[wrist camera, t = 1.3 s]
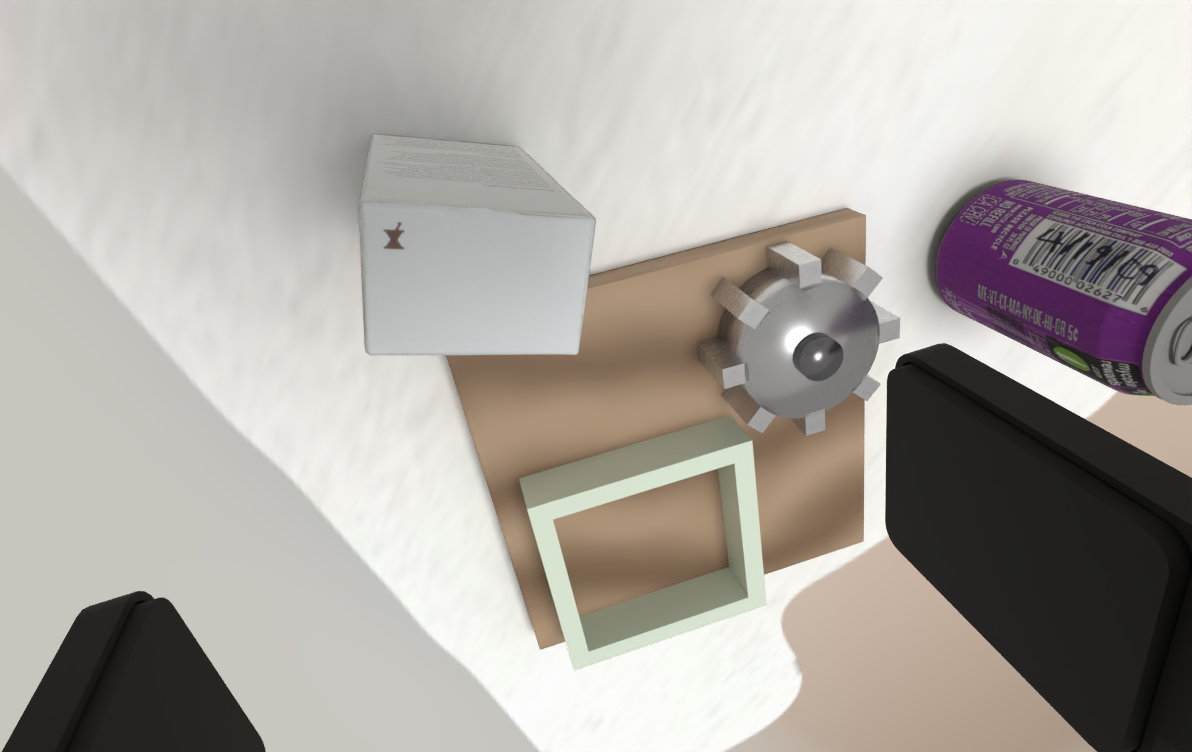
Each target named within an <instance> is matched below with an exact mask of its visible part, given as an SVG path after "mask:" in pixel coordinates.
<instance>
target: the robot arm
mask: <svg viewBox="0 0 1192 752" xmlns="http://www.w3.org/2000/svg"><path fill="white" fill-rule="evenodd" d="M885 523H886V529H887V532H888V535H889V537H890V539H891V541H892V543H893V544H894V546H895V547H896V548H897V549H898V550H899V551H900V552H901V554H902V555H903V556H904V557H906V559H907V560H908V561H909V562H910V563H911V564H912V565H913V566H914V567H915V568H916V569H917V570H918V571H919V572H920V573H921V574H922V575H923V576H924V577H925V578H926V579H927V580H928V581H929V582H930V583H931V584H932V585H933V586H934V587H935V588H936V589H937V590H938V591H939V592H940V593H941V594H942V595H943V596H944V597H945V598H946V599H947V600H948V601H949V602H950V603H951V604H952V605H953V606H954V607H955V608H956V609H957V610H958V611H959V612H960V614H962V615H963V617H964V618H965V619H966V620H967V621H968V622H969V623H970V624H971V625H972V626H973V627H974V628H975V629H976V630H977V631H978V632H979V633H980V634H981V635H982V636H983V637H984V638H985V639H986V640H987V641H988V642H989V643H990V644H991V645H992V646H993V647H994V648H995V649H996V650H997V651H998V652H999V653H1000V654H1001V655H1002V656H1003V657H1004V658H1005V659H1006V660H1007V661H1008V662H1009V663H1010V664H1011V665H1012V666H1013V667H1014V668H1015V669H1016V670H1017V671H1018V672H1019V673H1020V675H1022V677H1023V678H1025V679H1026V681H1027V682H1028V683H1029V684H1030V685H1031V686H1032V687H1033V688H1034V689H1035V690H1036V691H1038V693H1039V694H1040V695H1041V696H1042V697H1043V698H1044V699H1045V700H1046V701H1047V702H1048V703H1049V704H1050V705H1051V706H1052V707H1053V708H1054V709H1055V710H1056V711H1057V712H1058V713H1059V714H1060V715H1061V716H1062V717H1063V718H1064V719H1065V720H1066V721H1067V722H1068V723H1069V724H1070V725H1071V726H1072V727H1073V728H1074V729H1075V730H1076V731H1077V732H1078V733H1079V734H1080V735H1081V737H1083V739H1084V740H1085V741H1086V742H1087V743H1088V744H1089V745H1091V746H1092V747H1093V748H1094V749H1095V750H1096V751H1097V752H1192V478H1191V477H1189V476H1187V475H1186V474H1184V473H1182V472H1180V471H1178V470H1176V469H1175V468H1173V467H1171V466H1169V465H1167V464H1165V463H1164V462H1162V461H1160V460H1158V459H1156V458H1154V457H1153V456H1151V455H1149V454H1147V453H1145V452H1144V451H1142V450H1140V449H1138V448H1136V447H1135V446H1133V445H1131V444H1129V443H1127V442H1125V441H1124V440H1122V439H1120V438H1118V437H1116V436H1115V435H1113V434H1111V433H1109V432H1107V431H1106V430H1104V429H1102V428H1100V427H1098V426H1096V425H1095V424H1093V423H1091V422H1089V421H1087V420H1086V419H1084V418H1082V417H1080V416H1078V415H1076V414H1075V413H1073V412H1071V411H1069V410H1067V409H1066V408H1064V407H1062V406H1060V405H1058V404H1056V403H1055V402H1053V401H1051V400H1049V399H1047V398H1046V397H1044V396H1042V395H1040V394H1038V393H1036V392H1035V391H1033V390H1031V389H1029V388H1027V387H1026V386H1024V385H1022V384H1020V383H1018V382H1017V381H1015V380H1013V379H1011V378H1009V377H1007V376H1006V375H1004V374H1002V373H1000V372H998V371H997V370H995V369H993V368H991V367H989V366H987V365H986V364H984V363H982V362H980V361H978V360H977V359H975V358H973V357H971V356H969V355H967V354H966V353H964V352H962V351H960V350H958V349H957V348H955V347H953V346H951V345H948V344H945V343H943V344H937V345H933V346H930V347H927V348H924V349H921V350H917V351H914V352H911V353H908V354H904V355H902V356H901V357H900V358H899V359H898V361H897V363H896V367H895V369H893V370H891V371H890V373H889V375H888V378H887V429H886V511H885ZM2 752H265V747H264V744H263V741H262V740H261V737H260V736H259V734H258V732H257V731H256V730H255V728H254V726H253V725H252V723H251V722H250V720H249V719H248V717H247V716H246V714H245V713H244V712H243V710H242V708H241V707H240V705H239V704H238V702H237V701H236V699H235V698H234V696H233V695H232V694H231V692H230V690H229V689H228V687H227V686H226V684H225V683H224V681H223V680H222V678H221V677H220V675H219V674H218V672H217V671H216V669H215V668H214V666H213V665H212V663H211V662H210V660H209V659H208V657H207V656H206V654H205V653H204V651H203V650H202V648H201V647H200V645H199V644H198V642H197V641H196V639H195V638H194V636H193V635H192V633H191V631H190V630H189V628H188V627H187V626H186V624H185V623H184V621H183V619H182V618H181V616H180V615H179V613H178V612H177V610H176V609H175V608H174V606H173V605H172V603H171V602H170V601H169V600H167V599H165V598H157V599H154V598H153V597H152V596H151V595H150V594H148V593H146V592H144V591H137V592H134V593H130V594H127V595H124V596H121V597H118V598H114V599H112V600H108V601H105V602H101V603H98V604H95V605H92V606H89V607H87V608H85V609H83V610H82V611H81V613H79V615H78V616H77V617H76V619H75V621H74V623H73V625H72V626H71V628H70V630H69V632H68V634H67V635H66V637H65V639H64V641H63V643H62V644H61V646H60V648H59V650H58V652H57V653H56V655H55V657H54V659H53V661H52V662H51V664H50V666H49V668H48V670H47V671H46V673H45V675H44V677H43V679H42V681H41V682H40V684H39V686H38V688H37V689H36V691H35V693H34V695H33V697H32V698H31V700H30V702H29V704H28V706H27V707H26V709H25V711H24V713H23V715H22V716H21V718H20V720H19V722H18V724H17V726H16V727H15V729H14V731H13V733H12V735H11V736H10V738H9V740H8V742H7V743H6V745H5V747H4V749H3V751H2Z"/></svg>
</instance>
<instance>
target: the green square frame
mask: <svg viewBox="0 0 1192 752" xmlns="http://www.w3.org/2000/svg"><path fill="white" fill-rule="evenodd" d="M715 469H718V476H719V485H720V493H721V502H722V510H723V519H724V527H725V536H726V544H727V553H728V561H729V567H727V568H724V569H721V570H718V571H715V572H712V573H709V574H706V575H703V576H700V577H697V578H694V579H691V580H688V581H685V582H681V583H678V584H675V585H672V586H669V587H666V588H663V589H660V590H657V591H654V592H651V593H648V594H645V595H642V596H639V597H636V598H633V599H630V600H627V601H624V602H621V603H618V604H615V605H612V606H609V607H606V608H603V609H600V610H597V611H594V612H591V613H588V614H585V615H582V616H579V614H578V611H577V607H576V603H575V599H574V596H573V592H572V588H571V585H570V581H569V577H568V573H567V570H566V566H565V562H564V559H563V555H562V551H561V547H560V544H559V540H558V536H557V533H556V529H555V525H554V521H553V519H557V518H560V517H563V516H566V515H570V514H573V513H576V512H579V511H582V510H586V509H589V508H592V507H595V506H599V505H602V504H605V503H608V502H611V501H615V500H618V499H621V498H624V497H628V496H631V495H634V494H637V493H641V492H644V491H647V490H650V489H653V488H657V487H660V486H663V485H666V484H670V483H673V482H676V481H679V480H682V479H686V478H689V477H692V476H695V475H699V474H702V473H705V472H708V471H711V470H715ZM519 481H520V485H521V488H522V492H523V496H524V500H525V503H526V507H527V511H528V514H529V518H530V521H531V524H532V528H533V531H534V535H535V538H536V542H537V545H538V549H539V552H540V556H541V559H542V562H543V566H544V569H545V573H546V576H547V580H548V583H549V587H550V590H551V593H552V597H553V600H554V604H555V607H556V611H557V614H558V618H559V621H560V625H561V628H562V631H563V635H564V638H565V642H566V645H567V649H568V652H569V656H570V659H571V662H572V666H573V669H574V671H575V670H578V669H581V668H584V667H586V666H589V665H592V664H595V663H598V662H601V661H604V660H607V659H610V658H613V657H616V656H619V655H622V654H624V653H627V652H630V651H633V650H636V649H639V648H642V647H645V646H648V645H651V644H654V643H657V642H660V641H662V640H665V639H668V638H671V637H674V636H677V635H680V634H683V633H686V632H689V631H692V630H695V629H698V628H700V627H703V626H706V625H709V624H712V623H715V622H718V621H721V620H724V619H727V618H730V617H733V616H736V615H738V614H741V613H744V612H747V611H750V610H753V609H756V608H759V607H762V606H765V605H766V594H765V582H764V571H763V559H762V547H761V536H760V524H759V512H758V501H757V489H756V478H755V466H754V454H753V443H752V439H751V438H750V437H749V436H748V435H747V434H746V432H745V431H744V430H743V429H742V428H741V427H740V426H739V424H738V423H737V422H736V421H735V420H734V419H733V417H732V416H731V415H729V416H726V417H722V418H719V419H716V420H712V421H709V422H706V423H702V424H699V425H696V426H692V427H689V428H686V429H682V430H679V431H676V432H672V433H669V434H666V435H662V436H659V437H655V438H652V439H649V440H645V441H642V442H639V443H635V444H632V445H629V446H625V447H622V448H619V449H615V450H612V451H609V452H605V453H602V454H599V455H595V456H592V457H589V458H585V459H582V460H579V461H575V462H572V463H569V464H565V465H562V466H559V467H555V468H552V469H549V470H545V471H542V472H539V473H535V474H532V475H529V476H525V477H522V478H519Z"/></svg>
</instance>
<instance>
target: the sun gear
mask: <svg viewBox="0 0 1192 752" xmlns="http://www.w3.org/2000/svg"><path fill="white" fill-rule="evenodd" d="M766 253H767V268H766V269H764V270H762V271H760V272H758V273H757V274H755V275H753V276H752V277H751V278H749V279H748V280H747V281H746V282H745V283H744V284H743V285H742V286H741V287H740V288H739V287H737V286H736V285H734V284H733V283H731V282H730V281H728V280H727V279H725V278H724V277H722V279H721V280H720V282H719V283H718V285H717V286H716V287H715V289H714V290H713V292H712V293H711V294H710V296H712V297H713V298H714V299H715V300H716V301H717V302H719V303H720V304H721V305H722V306H723V307H725V309H724V311H723V314H722V317H721V319H720V323H719V327H718V334H717V337H715V338H712V339H708V340H705V341H701V342H697V350H698V358H699V362H700V363H701V364H702V365H703V366H704V367H705V369H706V370H707V371H708V372H709V373H710V374H711V375H712V376H713V377H714V378H715V379H716V381H717V382H718V383H719V384H720V385H721V386H722V387H723V388H724V389H725V390H724V391H723V393H722V394H721V396H722V397H723V398H724V399H725V400H726V401H727V403H728V404H729V405H730V406H731V407H732V408H733V409H734V411H735V412H736V413H737V414H738V415H739V416H740V417H741V418H742V420H743V421H744V422H745V423H746V424H747V425H749V426H750V427H752V428H754V429H756V430H758V431H759V432H761V433H763V432H764V430H765V429H766V428H767V427H768V425H769V424H770V423H771V421H772V420H773V419H774V418H775V416H780V417H784V418H789V419H790V420H791V421H792V422H793V423H794V424H795V425H796V426H797V427H798V428H799V429H800V430H801V431H802V432H803V433H804V434H805V435H806V436H808V435H811V434H814V433H817V432H821V431H824V430H825V411H827V410H829V409H831V408H833V407H835V406H836V405H838V404H839V403H841V402H842V401H843V400H845V399H846V398H847V397H848V396H849V395H850V394H852V393H855V394H857V395H858V396H860V397H861V398H863V399H864V400H866V401H868V399H869V398H870V397H871V396H872V394H873V393H874V392H875V391H876V390H877V388H878V387H879V386H880V385H881V384H880V383H878V382H877V381H875V380H874V379H873V378H871V377H870V376H869V375H867V374H868V372H869V370H870V368H871V366H872V364H873V362H874V360H875V357H876V354H877V350H878V346H879V344H880V343H884V342H887V341H890V340H894V339H897V338H899V333H900V318H899V317H897V316H895V315H894V314H892V313H890V312H888V311H887V310H885V309H883V308H881V307H880V306H878V305H876V304H874V303H873V302H871V301H869V299H868V296H869V295H870V294H871V293H872V291H873V290H874V289H875V287H876V286H877V285H878V284H879V282H880V281H881V280H882V277H881V276H880V275H878V274H877V273H876V272H874V271H873V270H872V269H871V268H869V267H868V266H866V265H864V264H862V263H860V262H858V261H856V260H854V259H852V258H850V257H848V256H846V255H844V254H842V253H840V252H838V251H836V250H834V249H832V248H830V249H829V250H828V252H827V253H826V254H825V256H824V257H823V258H822V260H821V259H820V258H818V257H816V256H814V255H812V254H810V253H808V252H806V251H805V250H803V249H801V248H799V247H797V246H795V245H793V244H792V243H790V242H788V241H783V242H780V243H776V244H772V245H768V246H766Z"/></svg>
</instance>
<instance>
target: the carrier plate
mask: <svg viewBox="0 0 1192 752" xmlns="http://www.w3.org/2000/svg"><path fill="white" fill-rule="evenodd" d="M783 241H788V242H790V243H792V244H793V245H795V246H797V247H799V248H801V249H803V250H805V251H806V252H808V253H810V254H812V255H814V256H816V257H818V258H820V259H821V260H822V258H823V257H824V256H825V254H826V253H827V252H828V250H829V249H830V248H832V249H834V250H836V251H838V252H840V253H842V254H844V255H846V256H848V257H850V258H852V259H854V260H856V261H858V262H860V263H862V264H864V265H865V254H866V215H864V214H861V213H858V212H856V211H853V210H851V209H848V208H847V209H843V210H839V211H835V212H831V213H828V214H824V215H820V216H816V217H812V218H809V219H805V220H801V221H797V222H793V223H789V224H786V225H782V226H778V227H774V228H770V229H767V230H763V231H759V232H755V233H751V234H748V235H744V236H740V237H736V238H732V239H729V240H725V241H721V242H717V243H713V244H709V245H706V246H702V247H698V248H694V249H690V250H687V251H683V252H679V253H675V254H671V255H668V256H664V257H660V258H656V259H652V260H649V261H645V262H641V263H637V264H633V265H629V266H626V267H622V268H618V269H614V270H610V271H607V272H603V273H599V274H595V275H591V276H589V278H588V285H587V293H586V301H585V308H584V316H583V323H582V330H581V337H580V345H579V352H578V353H577V355H566V354H537V355H532V354H520V355H447V358H448V362H449V365H450V368H451V371H452V374H453V377H454V380H455V384H456V387H457V390H458V393H459V396H460V399H461V403H462V406H463V409H464V412H465V415H466V418H467V421H468V425H469V428H470V431H471V434H472V437H473V440H474V443H475V447H476V450H477V453H478V456H479V459H480V462H481V465H482V469H483V472H484V475H485V478H486V481H487V484H488V487H489V491H490V494H491V497H492V500H493V503H494V506H495V509H496V513H497V516H498V519H499V522H500V525H501V528H502V532H503V535H504V538H505V541H506V544H507V547H508V550H509V554H510V557H511V560H512V563H513V566H514V569H515V572H516V576H517V579H518V582H519V585H520V588H521V591H522V594H523V598H524V601H525V604H526V607H527V610H528V613H529V616H530V620H531V623H532V626H533V629H534V632H535V635H536V638H537V642H538V645H539V648H540V650H541V649H544V648H547V647H550V646H553V645H556V644H559V643H562V642H565V638H564V635H563V631H562V628H561V625H560V621H559V618H558V614H557V611H556V607H555V604H554V600H553V597H552V593H551V590H550V587H549V583H548V580H547V576H546V573H545V569H544V566H543V562H542V559H541V556H540V552H539V549H538V545H537V542H536V538H535V535H534V531H533V528H532V524H531V521H530V518H529V514H528V511H527V507H526V503H525V500H524V496H523V492H522V488H521V485H520V481H519V478H522V477H525V476H529V475H532V474H535V473H539V472H542V471H545V470H549V469H552V468H555V467H559V466H562V465H565V464H569V463H572V462H575V461H579V460H582V459H585V458H589V457H592V456H595V455H599V454H602V453H605V452H609V451H612V450H615V449H619V448H622V447H625V446H629V445H632V444H635V443H639V442H642V441H645V440H649V439H652V438H655V437H659V436H662V435H666V434H669V433H672V432H676V431H679V430H682V429H686V428H689V427H692V426H696V425H699V424H702V423H706V422H709V421H712V420H716V419H719V418H722V417H726V416H729V415H731V416H732V417H733V419H734V420H735V421H736V422H737V423H738V424H739V426H740V427H741V428H742V429H743V430H744V431H745V432H746V434H747V435H748V436H749V437H750V438H751V439H752V443H753V454H754V466H755V478H756V489H757V501H758V512H759V524H760V536H761V547H762V559H763V571H764V575H765V574H768V573H771V572H774V571H777V570H780V569H783V568H786V567H789V566H791V565H794V564H797V563H800V562H803V561H806V560H809V559H812V558H815V557H818V556H821V555H824V554H827V553H830V552H833V551H836V550H839V549H842V548H845V547H848V546H851V545H854V544H857V543H860V542H863V540H864V399H863V398H861V397H860V396H858V395H857V394H855V393H852V394H850V395H849V396H848V397H847V398H846V399H845V400H843V401H842V402H841V403H839V404H838V405H836V406H835V407H833V408H831V409H829V410H827V411H825V430H824V431H821V432H817V433H814V434H811V435H808V436H806V435H805V434H804V433H803V432H802V431H801V430H800V429H799V428H798V427H797V426H796V425H795V424H794V423H793V422H792V421H791V420H790V419H789V418H784V417H780V416H775V418H774V419H773V420H772V421H771V423H770V424H769V425H768V427H767V428H766V429H765V430H764V432H763V433H761V432H759V431H758V430H756V429H754V428H752V427H750V426H749V425H747V424H746V423H745V422H744V421H743V420H742V418H741V417H740V416H739V415H738V414H737V413H736V412H735V411H734V409H733V408H732V407H731V406H730V405H729V404H728V403H727V401H726V400H725V399H724V398H723V397H722V396H721V394H722V393H723V391H724V390H725V389H724V388H723V387H722V386H721V385H720V384H719V383H718V382H717V381H716V379H715V378H714V377H713V376H712V375H711V374H710V373H709V372H708V371H707V370H706V369H705V367H704V366H703V365H702V364H701V363H700V362H699V358H698V350H697V342H701V341H705V340H708V339H712V338H715V337H717V334H718V327H719V323H720V319H721V317H722V314H723V311H724V309H725V307H723V306H722V305H721V304H720V303H719V302H717V301H716V300H715V299H714V298H713V297H712V296H710V294H711V293H712V292H713V290H714V289H715V287H716V286H717V285H718V283H719V282H720V280H721V279H722V277H724V278H725V279H727V280H728V281H730V282H731V283H733V284H734V285H736V286H737V287H739V288H740V287H741V286H742V285H743V284H744V283H745V282H746V281H747V280H748V279H749V278H751V277H752V276H753V275H755V274H757V273H758V272H760V271H762V270H764V269H766V268H767V253H766V246H768V245H772V244H776V243H780V242H783ZM553 521H554V525H555V529H556V533H557V536H558V540H559V544H560V547H561V551H562V555H563V559H564V562H565V566H566V570H567V573H568V577H569V581H570V585H571V588H572V592H573V596H574V599H575V603H576V607H577V611H578V614H579V616H582V615H585V614H588V613H591V612H594V611H597V610H600V609H603V608H606V607H609V606H612V605H615V604H618V603H621V602H624V601H627V600H630V599H633V598H636V597H639V596H642V595H645V594H648V593H651V592H654V591H657V590H660V589H663V588H666V587H669V586H672V585H675V584H678V583H681V582H685V581H688V580H691V579H694V578H697V577H700V576H703V575H706V574H709V573H712V572H715V571H718V570H721V569H724V568H727V567H729V561H728V553H727V544H726V536H725V527H724V519H723V510H722V502H721V493H720V485H719V476H718V469H715V470H711V471H708V472H705V473H702V474H699V475H695V476H692V477H689V478H686V479H682V480H679V481H676V482H673V483H670V484H666V485H663V486H660V487H657V488H653V489H650V490H647V491H644V492H641V493H637V494H634V495H631V496H628V497H624V498H621V499H618V500H615V501H611V502H608V503H605V504H602V505H599V506H595V507H592V508H589V509H586V510H582V511H579V512H576V513H573V514H570V515H566V516H563V517H560V518H557V519H553Z"/></svg>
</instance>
